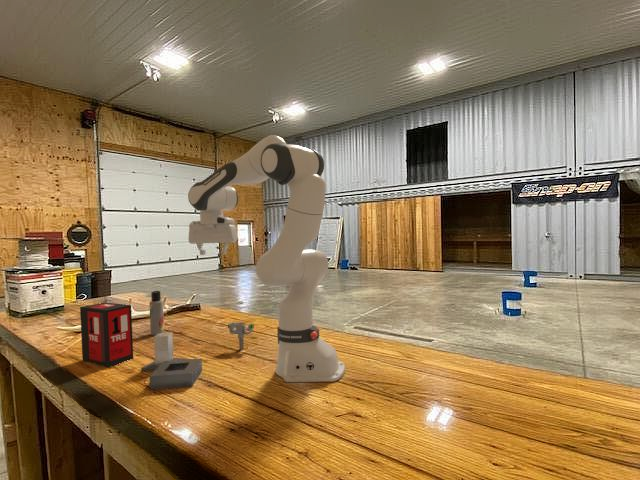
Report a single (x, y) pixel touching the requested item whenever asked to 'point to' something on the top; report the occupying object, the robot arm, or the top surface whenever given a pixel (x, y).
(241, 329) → the mechanical component
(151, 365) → the rubber mat
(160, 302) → the lotion bottle
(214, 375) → the top surface
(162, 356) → the aluminium plug
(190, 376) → the square socket
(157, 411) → the top surface
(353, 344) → the top surface
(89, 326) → the cleaning product box
